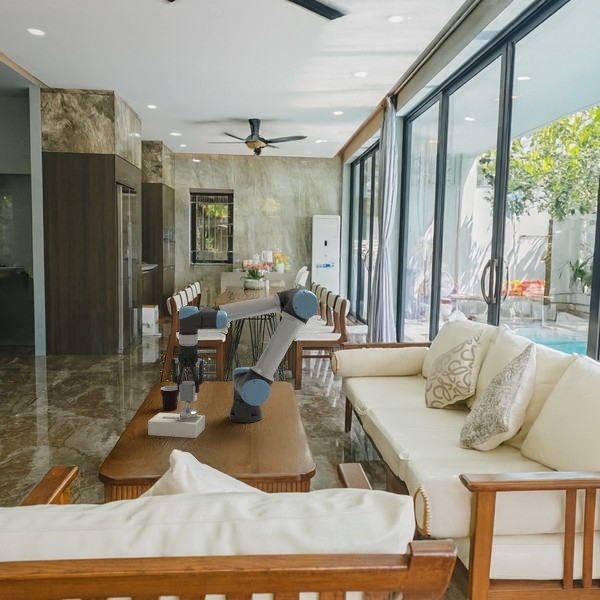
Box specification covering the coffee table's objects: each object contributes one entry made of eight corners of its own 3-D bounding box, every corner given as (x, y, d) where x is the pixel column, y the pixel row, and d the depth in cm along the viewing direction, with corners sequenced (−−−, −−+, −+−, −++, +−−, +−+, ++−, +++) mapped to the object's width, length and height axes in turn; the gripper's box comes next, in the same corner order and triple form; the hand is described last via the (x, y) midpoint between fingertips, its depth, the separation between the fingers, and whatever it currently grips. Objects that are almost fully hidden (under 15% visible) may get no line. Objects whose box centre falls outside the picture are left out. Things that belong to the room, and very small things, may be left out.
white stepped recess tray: (204, 428, 235) (204, 415, 235) (195, 438, 223) (195, 424, 223) (159, 425, 238) (159, 412, 237) (148, 434, 226) (148, 421, 225)
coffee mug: (174, 412, 257) (174, 391, 257) (157, 410, 259) (157, 389, 258) (184, 405, 269) (184, 385, 268) (168, 404, 270) (168, 384, 270)
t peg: (199, 414, 232) (199, 381, 231) (193, 419, 225) (193, 385, 224) (183, 413, 233) (183, 380, 232) (177, 418, 226) (177, 384, 225)
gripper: (212, 343, 229) (212, 398, 231) (170, 341, 231) (170, 396, 233) (207, 346, 222) (206, 403, 224) (163, 344, 224) (163, 401, 226)
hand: (188, 400), depth 229 cm, fingers closed on t peg, 5 cm apart
